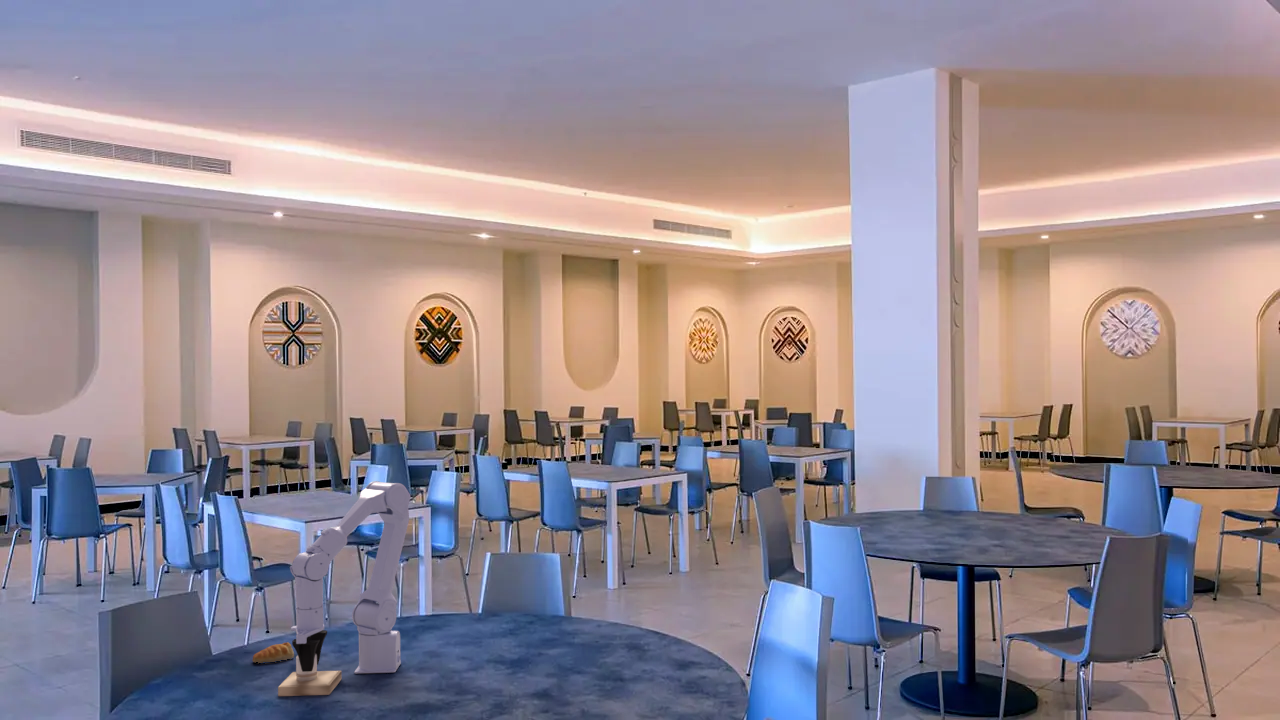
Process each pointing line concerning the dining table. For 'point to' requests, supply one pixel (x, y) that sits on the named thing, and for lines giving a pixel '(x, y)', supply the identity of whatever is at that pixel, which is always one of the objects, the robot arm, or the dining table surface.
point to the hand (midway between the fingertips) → (310, 667)
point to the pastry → (274, 653)
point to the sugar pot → (306, 675)
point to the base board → (310, 684)
